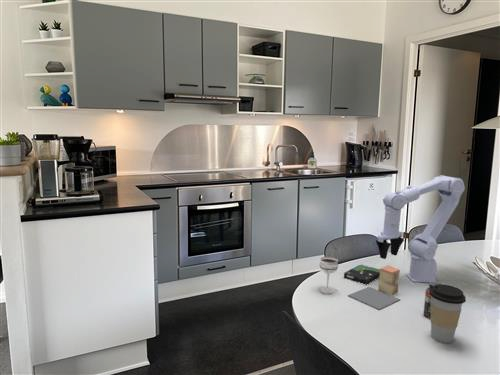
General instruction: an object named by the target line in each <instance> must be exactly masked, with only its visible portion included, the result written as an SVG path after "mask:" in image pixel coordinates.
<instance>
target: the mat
mask: <svg viewBox="0 0 500 375" xmlns="http://www.w3.org/2000/svg"><path fill="white" fill-rule="evenodd" d="M347 297H349V298H351V299H354V300H355V301H357V302H360V303H363V304H364V305H366V306H369V307H371V308H373V309H375V310H378V311H381V310H383V309H385V308H387V307H389V306H391V305H393V304H395V303H397V302H400V301H401V298H399V297H395V296H393V295H389V294H386V293H384V292H381V291H379V290H378V289H376V288H374V287H372V286H371V287H370V286H367V287H364V288H362V289H359V290H357V291H355V292H352V293H350V294H347Z"/></svg>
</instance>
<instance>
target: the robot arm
mask: <svg viewBox="0 0 500 375" xmlns="http://www.w3.org/2000/svg"><path fill="white" fill-rule="evenodd" d="M465 186H466V185H465V184H464V181H463V179H462V178H460V177H453V176H446V175H444V174H441V175H438V176H434V178H433V179H431V180H429V181H427V182H425V183H423V184H420V185H418V186H414V185H407V186H406V187H405V188H403V189H401V190H396V191H395V192H389V193H387V194H386V195H385V196H384V198H383V199H382V203H383V205H384V210H385V211H384V218H383V219H384V221H383V231H381V232H380V235H378V236H377V239H376V240H375V243H376V245H377V248H378V251H379V258H381V259H383V260H386V259H387V256H388V252H389V250H390V254H391V255H392V256H397V255H398V253H399V250H400V248H401V246H402V244H403V243H404V241H405V238H404V237H403V236H404V234H403V233H404V232H403V231H400V225H401V213H402V209H404V207H405V205H407V204H410V203H412V202H416V201H417V200H419V198H420V196H423V195H426V194H427V193H430V192H434V191H437V193H438V194H439V195H440V198H441V200H442V201H441V203H440V204H439V206H438V207H437V209H436V211H435V212H434V214H433V216H432V217H431V219H430V220H429V221H428V223H427V225H426V226H425V228H424V229H423V231H422V232H421V233H419V234H417V235H415V237H413V239H411V240H410V241H409V242H408V245H407V250H408V252H409V253H410V265H409V272H406V273H405V275H406V276H407V277H408V279H410V281H411V282H413V283H430V282H437V280H436V278H437V277H436V276H437V268H438V266H437V264H438V263H437V261H436V259H435V255H436V253H437V250H438V247H439V246H438V243H437V239H438V237H439V235H440V234H441V232H442V230H443V229H444V227H445V225H447V223H448V221H449V220H450V218H451V216H452V215H453V213H454V211H455V210H456V208H457V206H458V205H459V202H460V198H461V196H462V194H463V193H464V191H465V189H466V187H465ZM388 241H389V242H388Z"/></svg>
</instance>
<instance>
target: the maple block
mask: <svg viewBox="0 0 500 375" xmlns="http://www.w3.org/2000/svg"><path fill="white" fill-rule="evenodd" d="M400 272H401V271H400V269H399V268H396V267H393V266H391V265H385V266H383V267H380V276H379V278H378V289H377V290H379V291H381V292H384V293H386V294H389V295H391V296H393V295H395V294H397V293H398V291H399V283H400Z"/></svg>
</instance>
